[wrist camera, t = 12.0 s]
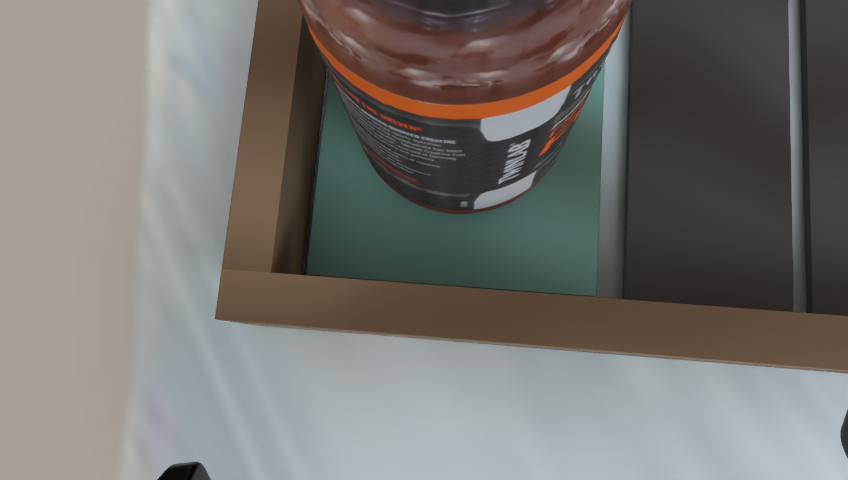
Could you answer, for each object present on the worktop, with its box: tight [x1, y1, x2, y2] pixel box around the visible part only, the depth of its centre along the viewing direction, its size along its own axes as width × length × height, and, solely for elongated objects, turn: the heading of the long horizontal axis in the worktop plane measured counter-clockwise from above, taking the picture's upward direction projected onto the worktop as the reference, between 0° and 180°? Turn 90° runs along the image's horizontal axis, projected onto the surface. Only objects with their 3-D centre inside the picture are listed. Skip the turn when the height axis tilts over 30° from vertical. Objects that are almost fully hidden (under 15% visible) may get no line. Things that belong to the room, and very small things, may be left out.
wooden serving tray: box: [215, 0, 848, 373], centre depth 17 cm, size 13×30×3 cm, turn 85°
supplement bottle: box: [297, 0, 632, 214], centre depth 13 cm, size 6×6×11 cm
